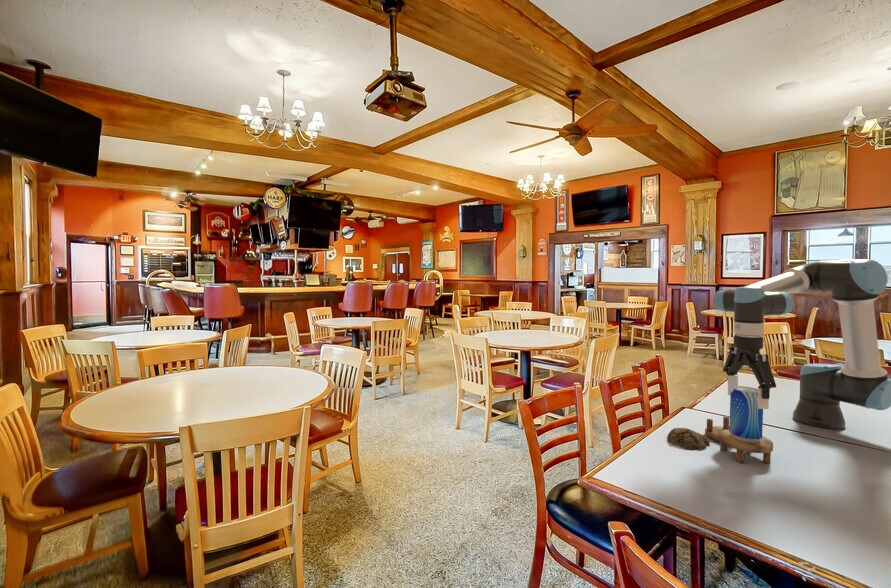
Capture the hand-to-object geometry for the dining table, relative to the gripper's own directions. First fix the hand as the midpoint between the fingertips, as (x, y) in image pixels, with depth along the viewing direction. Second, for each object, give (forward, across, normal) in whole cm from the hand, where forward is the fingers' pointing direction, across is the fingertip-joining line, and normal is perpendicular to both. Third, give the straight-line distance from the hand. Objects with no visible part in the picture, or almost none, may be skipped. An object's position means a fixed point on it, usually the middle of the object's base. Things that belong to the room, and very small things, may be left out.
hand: (747, 401), depth 127 cm
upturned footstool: (+18, -14, +3) cm, 23 cm away
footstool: (+18, 0, -1) cm, 18 cm away
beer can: (+12, 0, -1) cm, 12 cm away
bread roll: (+18, -10, -13) cm, 25 cm away
